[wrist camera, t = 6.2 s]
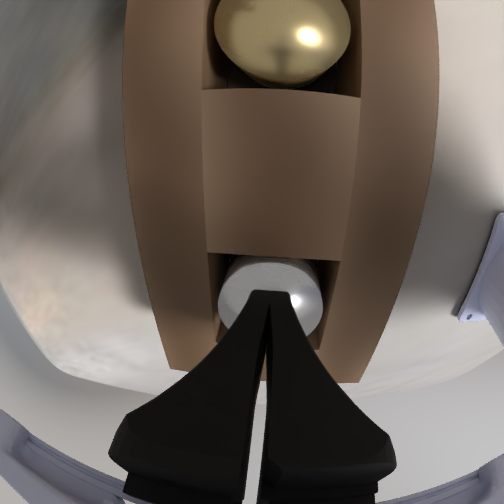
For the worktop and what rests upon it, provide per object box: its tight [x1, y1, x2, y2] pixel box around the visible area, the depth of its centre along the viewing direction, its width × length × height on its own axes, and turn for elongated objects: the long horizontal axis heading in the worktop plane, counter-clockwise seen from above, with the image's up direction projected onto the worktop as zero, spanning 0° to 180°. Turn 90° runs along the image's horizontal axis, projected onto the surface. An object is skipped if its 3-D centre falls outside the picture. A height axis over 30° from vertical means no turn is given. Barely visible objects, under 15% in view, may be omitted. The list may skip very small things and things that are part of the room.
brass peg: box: [214, 0, 351, 89], centre depth 7 cm, size 4×4×4 cm
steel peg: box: [218, 254, 323, 336], centre depth 12 cm, size 4×4×4 cm
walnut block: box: [122, 0, 439, 383], centre depth 10 cm, size 10×20×4 cm, turn 179°
